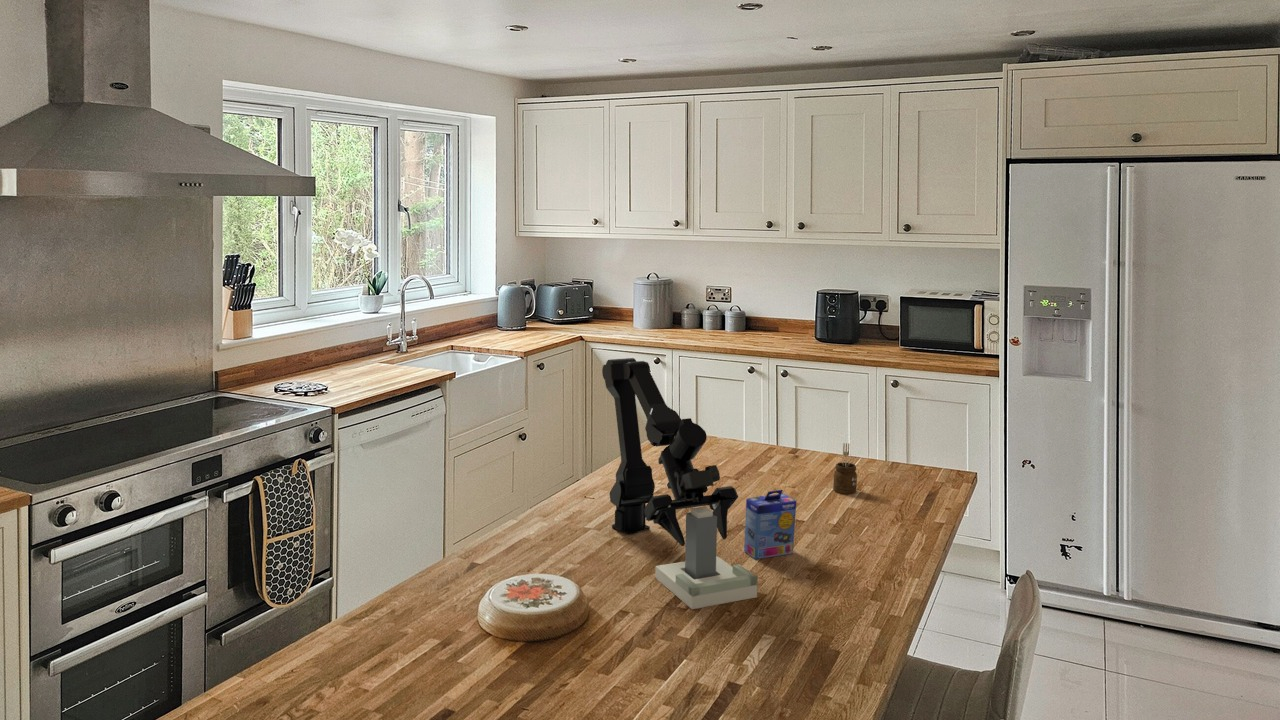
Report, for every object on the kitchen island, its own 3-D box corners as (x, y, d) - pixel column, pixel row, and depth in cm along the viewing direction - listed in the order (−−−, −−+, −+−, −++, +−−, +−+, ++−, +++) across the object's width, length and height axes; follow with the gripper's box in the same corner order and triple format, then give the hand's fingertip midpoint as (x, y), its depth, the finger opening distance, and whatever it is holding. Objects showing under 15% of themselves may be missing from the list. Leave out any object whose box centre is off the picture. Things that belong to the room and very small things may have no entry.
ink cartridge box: (755, 560, 205) (758, 494, 202) (742, 551, 210) (744, 487, 207) (795, 554, 209) (798, 489, 206) (781, 545, 214) (783, 482, 211)
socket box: (655, 577, 195) (655, 558, 194) (716, 567, 201) (717, 548, 200) (691, 609, 181) (692, 588, 180) (756, 597, 186) (757, 577, 186)
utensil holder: (833, 493, 250) (835, 448, 248) (832, 486, 257) (834, 442, 254) (856, 495, 250) (859, 450, 247) (855, 488, 256) (858, 443, 254)
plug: (684, 580, 194) (686, 508, 191) (704, 576, 195) (706, 505, 193) (695, 588, 190) (696, 514, 187) (715, 585, 191) (717, 512, 189)
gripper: (651, 456, 188) (675, 529, 180) (735, 447, 195) (762, 517, 187) (634, 484, 196) (656, 555, 188) (715, 474, 204) (740, 542, 196)
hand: (704, 541), depth 190 cm, fingers open, 9 cm apart
